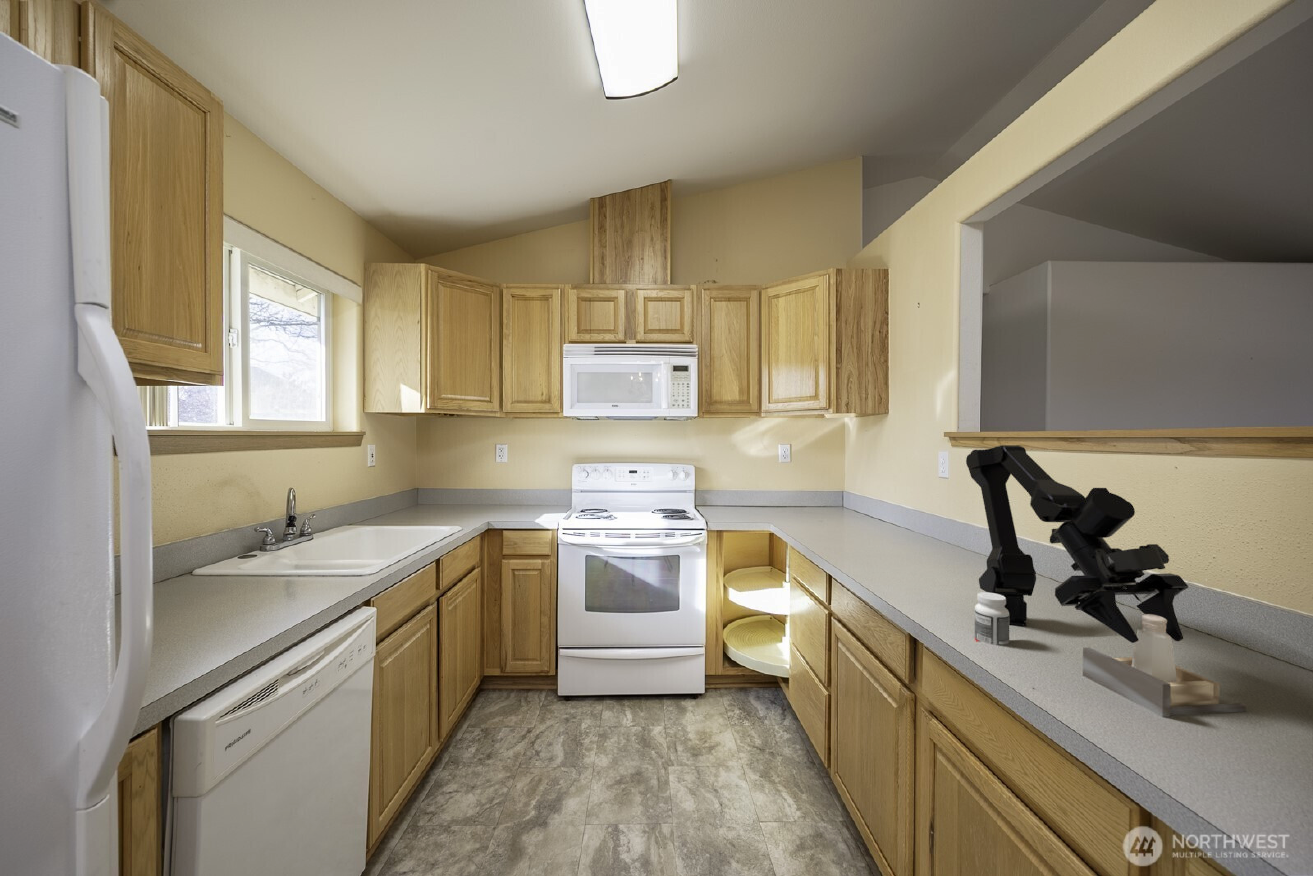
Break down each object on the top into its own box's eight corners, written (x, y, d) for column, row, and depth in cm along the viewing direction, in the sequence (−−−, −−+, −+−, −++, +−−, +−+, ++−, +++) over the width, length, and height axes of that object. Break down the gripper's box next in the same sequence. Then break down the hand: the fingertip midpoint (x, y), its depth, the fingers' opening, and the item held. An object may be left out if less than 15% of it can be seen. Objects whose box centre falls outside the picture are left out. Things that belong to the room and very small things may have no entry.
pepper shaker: (1179, 687, 77) (1180, 617, 76) (1176, 699, 73) (1178, 626, 73) (1132, 674, 81) (1132, 607, 81) (1127, 684, 77) (1127, 615, 77)
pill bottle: (1003, 641, 99) (1004, 592, 98) (1013, 653, 93) (1014, 602, 93) (970, 637, 100) (971, 589, 100) (979, 649, 95) (979, 598, 95)
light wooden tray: (1152, 677, 82) (1153, 656, 82) (1219, 707, 73) (1219, 683, 73) (1103, 679, 81) (1104, 658, 81) (1164, 710, 72) (1165, 686, 72)
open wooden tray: (1135, 668, 88) (1136, 634, 88) (1251, 720, 72) (1252, 680, 72) (1053, 671, 86) (1053, 638, 86) (1152, 726, 70) (1153, 685, 70)
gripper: (1070, 527, 80) (1141, 620, 69) (1176, 525, 81) (1261, 616, 70) (1030, 562, 88) (1087, 650, 77) (1126, 560, 89) (1196, 647, 78)
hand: (1157, 641), depth 75 cm, fingers open, 7 cm apart
